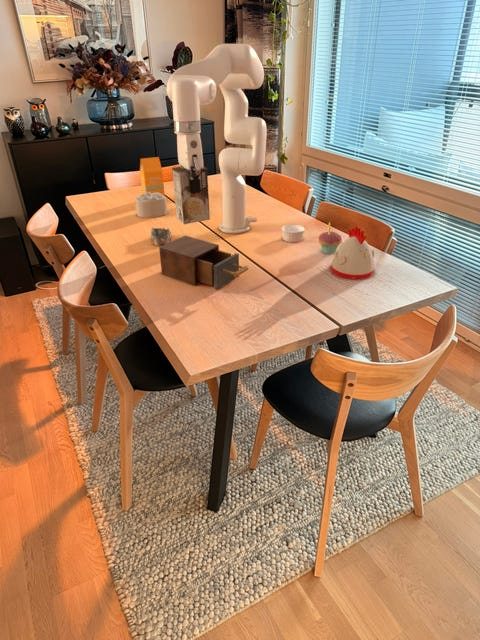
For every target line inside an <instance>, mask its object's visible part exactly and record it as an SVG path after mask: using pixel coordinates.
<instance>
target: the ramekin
mask: <svg viewBox="0 0 480 640" xmlns="http://www.w3.org/2000/svg"><path fill="white" fill-rule="evenodd" d="M281 233H282V235H281V236H282V240H283V241H285V242H287V243H299V242H301V241H302V240H304V235H305V226H302V225H300V224H285V225H283V226H282V227H281Z"/></svg>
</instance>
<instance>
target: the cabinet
mask: <svg viewBox="0 0 480 640" xmlns="http://www.w3.org/2000/svg"><path fill="white" fill-rule="evenodd" d="M158 247H159V249H158V251H159V259H160V267H161V268H160V269H161V274H162V275H164V276H165V277H170V278H172V279H175V280H178V281H181V282H184V283H187V284H189V285H191V286H198V285H199V284H201V283H202V282H200V281H197V279H196V263H195V259H197V258H199V257H201V256H203V255H204V254H206V253H208V252H210V251H212V250H214V249H217V250H220V245H219V244H217V243H213V242H209V241H207V240H202V239H199V238H195V237H192V236H189V235H183V236H180V237H179V238H176V239H174V240H171V242H170V243H167V244H162V245H160V246H158Z"/></svg>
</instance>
